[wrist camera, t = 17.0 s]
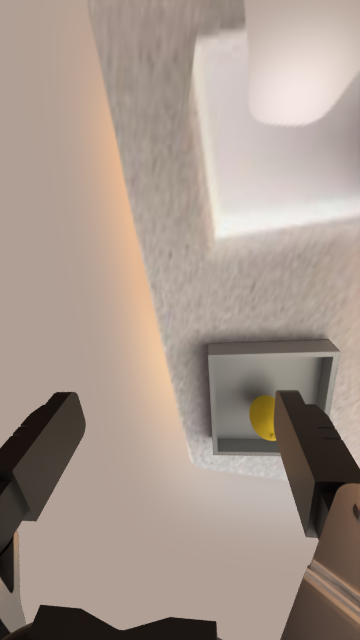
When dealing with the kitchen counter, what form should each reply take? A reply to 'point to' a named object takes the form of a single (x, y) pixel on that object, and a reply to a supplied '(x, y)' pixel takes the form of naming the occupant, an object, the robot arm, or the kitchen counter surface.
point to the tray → (264, 386)
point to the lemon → (263, 416)
